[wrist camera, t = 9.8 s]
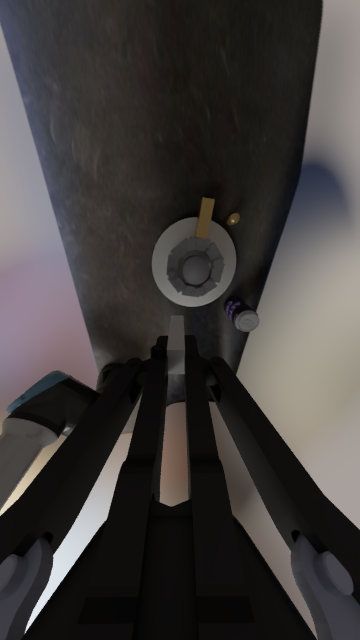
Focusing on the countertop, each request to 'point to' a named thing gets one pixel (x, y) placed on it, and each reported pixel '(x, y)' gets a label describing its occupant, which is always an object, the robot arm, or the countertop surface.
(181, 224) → the housing
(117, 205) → the countertop surface
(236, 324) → the beverage can
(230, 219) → the stop pin
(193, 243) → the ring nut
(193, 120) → the countertop surface
